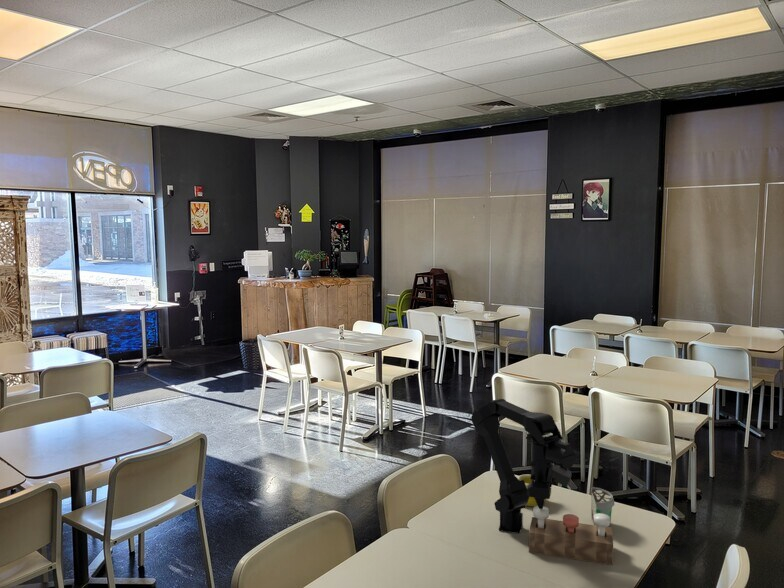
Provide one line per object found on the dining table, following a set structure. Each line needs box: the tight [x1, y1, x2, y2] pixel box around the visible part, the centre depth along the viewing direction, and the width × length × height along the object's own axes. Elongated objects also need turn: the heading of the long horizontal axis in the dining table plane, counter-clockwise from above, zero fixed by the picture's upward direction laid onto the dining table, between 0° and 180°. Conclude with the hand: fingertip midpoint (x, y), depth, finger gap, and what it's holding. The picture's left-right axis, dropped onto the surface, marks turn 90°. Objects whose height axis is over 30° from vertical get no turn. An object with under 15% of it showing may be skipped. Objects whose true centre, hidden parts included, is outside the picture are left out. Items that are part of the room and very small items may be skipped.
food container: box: [590, 486, 615, 527], centre depth 185 cm, size 12×6×10 cm, turn 168°
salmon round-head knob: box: [562, 513, 580, 533], centre depth 171 cm, size 4×4×8 cm
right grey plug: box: [594, 513, 611, 537], centre depth 168 cm, size 4×4×8 cm
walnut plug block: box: [528, 516, 614, 566], centre depth 171 cm, size 23×10×6 cm, turn 71°
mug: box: [516, 473, 552, 507], centre depth 203 cm, size 13×11×12 cm
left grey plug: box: [532, 505, 550, 529], centre depth 174 cm, size 4×4×8 cm
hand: (540, 508), depth 173 cm, fingers closed
